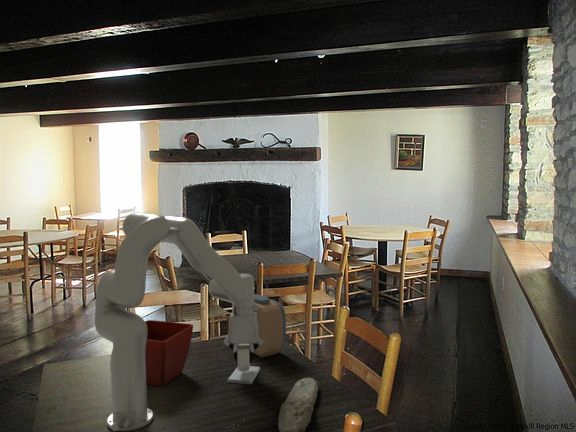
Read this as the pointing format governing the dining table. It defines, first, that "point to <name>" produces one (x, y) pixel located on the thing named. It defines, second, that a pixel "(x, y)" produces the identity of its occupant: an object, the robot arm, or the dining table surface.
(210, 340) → the dining table surface
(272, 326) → the alarm clock
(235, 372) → the hard drive
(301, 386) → the long grey stone
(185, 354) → the plant pot
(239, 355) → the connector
